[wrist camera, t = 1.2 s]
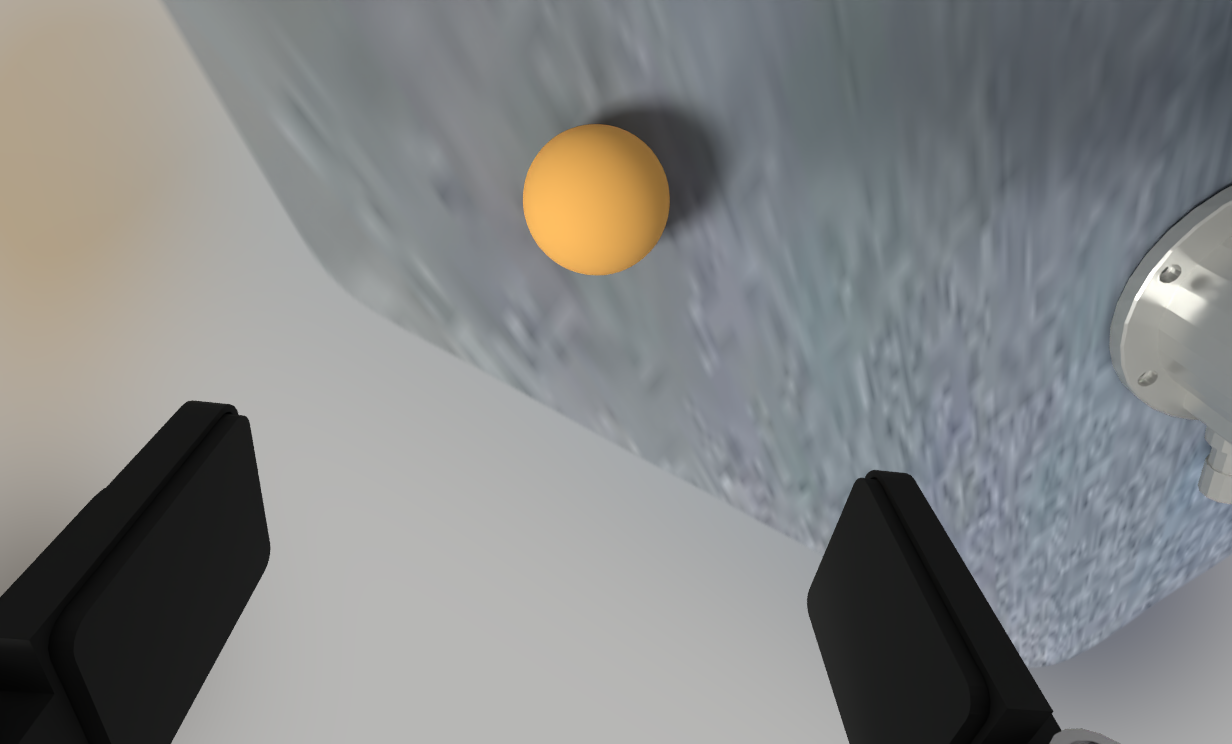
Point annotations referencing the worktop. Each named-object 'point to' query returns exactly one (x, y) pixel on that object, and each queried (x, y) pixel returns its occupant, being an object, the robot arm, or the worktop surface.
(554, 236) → the ball
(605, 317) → the worktop surface
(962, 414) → the worktop surface
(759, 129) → the worktop surface
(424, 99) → the worktop surface
